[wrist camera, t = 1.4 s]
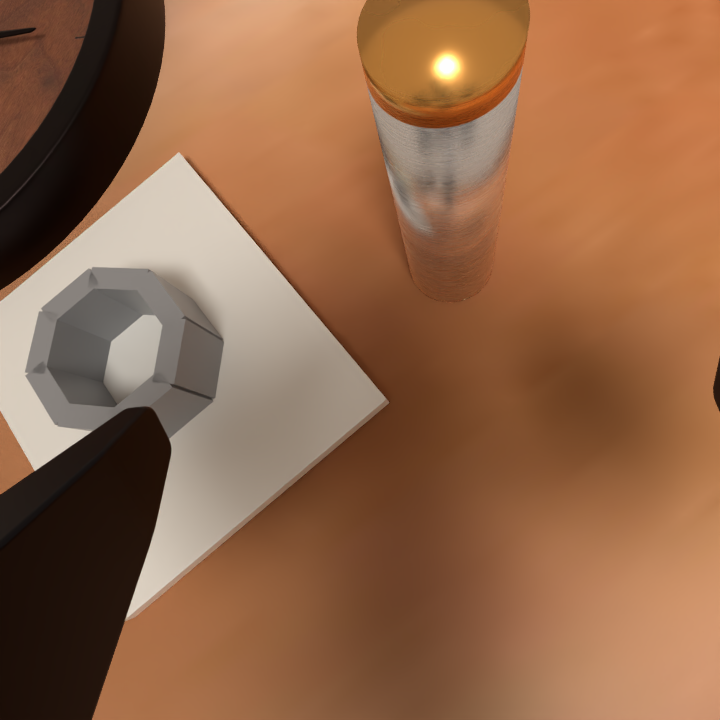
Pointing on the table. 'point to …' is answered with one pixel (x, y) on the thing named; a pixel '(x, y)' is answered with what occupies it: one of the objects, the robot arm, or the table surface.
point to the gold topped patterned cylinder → (445, 127)
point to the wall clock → (68, 112)
